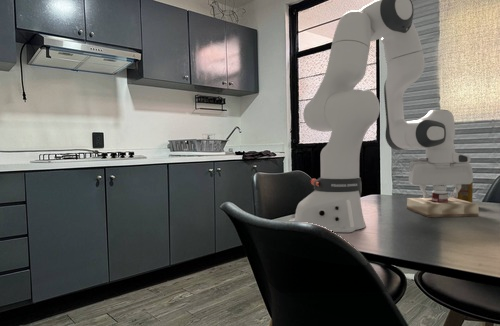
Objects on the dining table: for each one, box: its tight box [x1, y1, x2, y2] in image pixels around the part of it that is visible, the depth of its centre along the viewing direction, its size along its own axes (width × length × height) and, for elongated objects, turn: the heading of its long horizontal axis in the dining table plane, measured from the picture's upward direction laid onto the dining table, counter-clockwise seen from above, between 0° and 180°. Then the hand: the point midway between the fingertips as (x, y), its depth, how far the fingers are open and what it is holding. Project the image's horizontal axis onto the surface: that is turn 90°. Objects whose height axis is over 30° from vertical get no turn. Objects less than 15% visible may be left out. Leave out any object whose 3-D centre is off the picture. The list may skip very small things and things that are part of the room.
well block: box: [406, 196, 480, 218], centre depth 119 cm, size 16×16×4 cm
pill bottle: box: [431, 185, 449, 203], centre depth 119 cm, size 5×5×8 cm
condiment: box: [453, 181, 474, 203], centre depth 131 cm, size 7×8×12 cm
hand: (440, 197), depth 119 cm, fingers open, 8 cm apart
